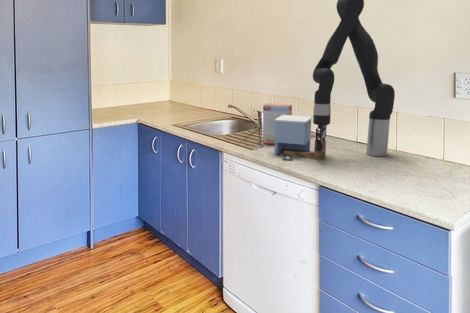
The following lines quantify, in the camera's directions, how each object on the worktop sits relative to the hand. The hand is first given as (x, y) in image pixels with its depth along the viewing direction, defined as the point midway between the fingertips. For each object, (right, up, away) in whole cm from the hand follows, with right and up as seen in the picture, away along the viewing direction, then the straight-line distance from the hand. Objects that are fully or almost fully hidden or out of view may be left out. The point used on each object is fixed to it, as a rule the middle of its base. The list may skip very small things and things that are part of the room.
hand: (320, 148), depth 196 cm
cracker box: (-17, +3, +29) cm, 34 cm away
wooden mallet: (-7, -4, +4) cm, 9 cm away
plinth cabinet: (-11, -2, +11) cm, 16 cm away
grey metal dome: (-15, -5, -1) cm, 16 cm away
